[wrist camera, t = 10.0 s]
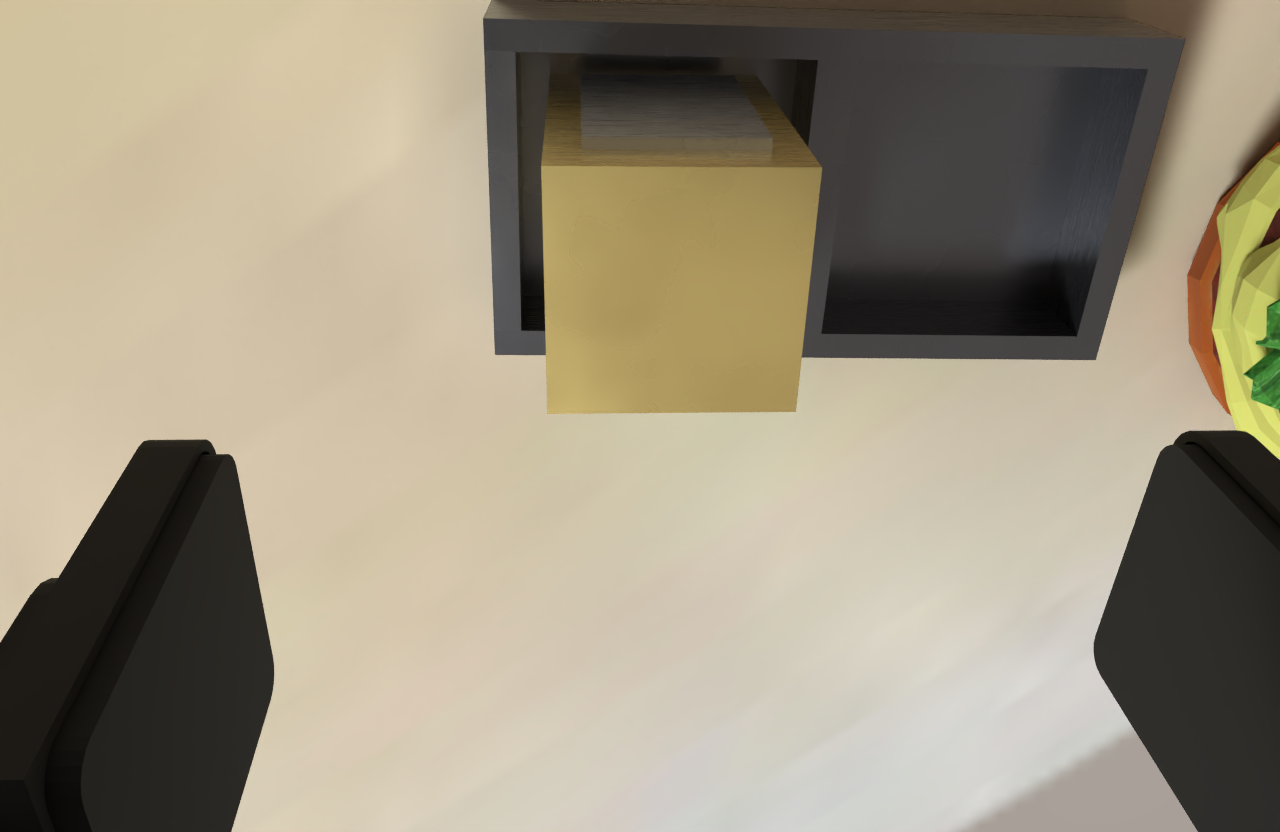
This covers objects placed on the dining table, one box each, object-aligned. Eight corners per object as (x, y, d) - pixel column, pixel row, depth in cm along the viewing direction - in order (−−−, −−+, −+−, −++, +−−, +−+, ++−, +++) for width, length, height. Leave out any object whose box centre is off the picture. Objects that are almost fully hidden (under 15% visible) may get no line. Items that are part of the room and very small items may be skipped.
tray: (492, -1, 22) (483, 18, 20) (1128, 18, 23) (1184, 38, 21) (501, 309, 26) (495, 354, 24) (1053, 316, 27) (1095, 360, 25)
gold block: (549, 63, 23) (540, 153, 16) (757, 65, 23) (823, 155, 17) (553, 276, 25) (547, 423, 19) (741, 276, 25) (794, 420, 19)
